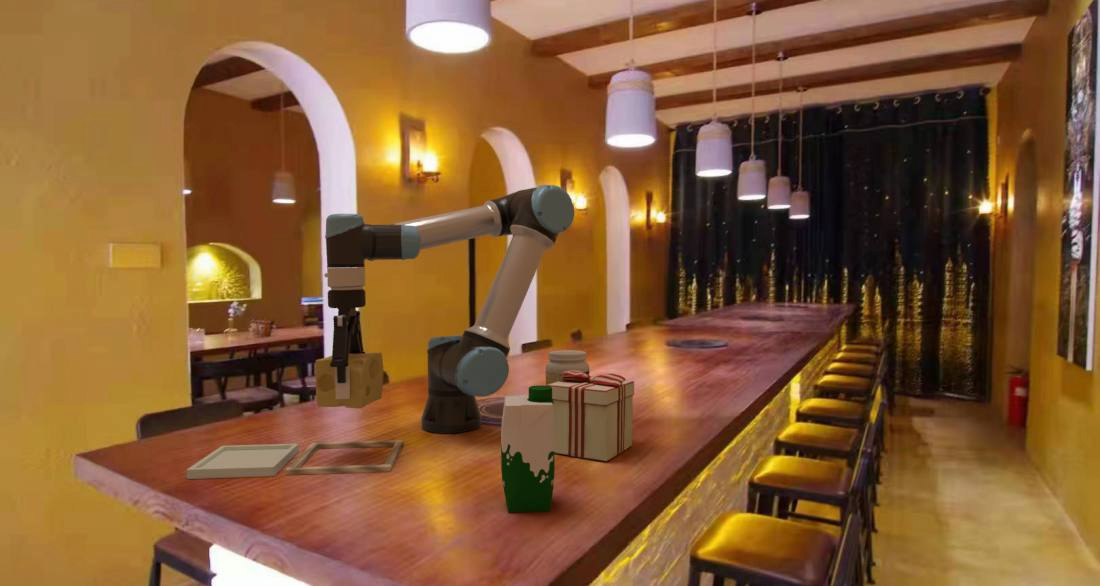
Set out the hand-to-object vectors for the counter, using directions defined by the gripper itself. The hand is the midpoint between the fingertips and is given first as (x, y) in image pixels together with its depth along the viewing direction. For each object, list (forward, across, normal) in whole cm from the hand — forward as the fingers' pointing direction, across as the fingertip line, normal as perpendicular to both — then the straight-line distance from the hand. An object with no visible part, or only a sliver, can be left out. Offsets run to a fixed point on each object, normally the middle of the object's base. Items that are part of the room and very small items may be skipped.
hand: (349, 392), depth 131 cm
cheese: (+2, 0, 0) cm, 2 cm away
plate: (+14, +2, -20) cm, 25 cm away
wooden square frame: (+14, 0, 0) cm, 14 cm away
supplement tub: (+15, -36, +50) cm, 64 cm away
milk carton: (+14, +29, +36) cm, 48 cm away
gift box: (+15, -3, +52) cm, 54 cm away
